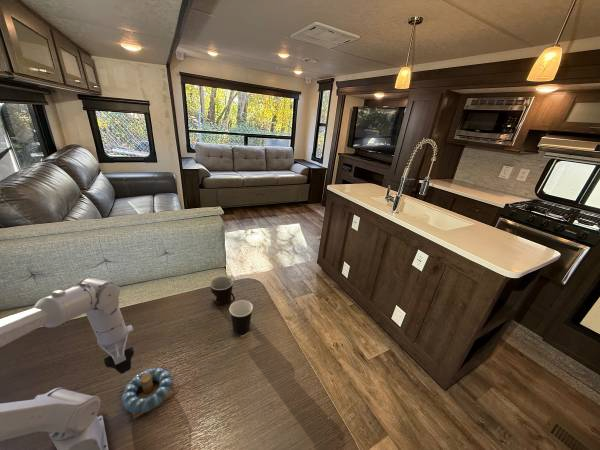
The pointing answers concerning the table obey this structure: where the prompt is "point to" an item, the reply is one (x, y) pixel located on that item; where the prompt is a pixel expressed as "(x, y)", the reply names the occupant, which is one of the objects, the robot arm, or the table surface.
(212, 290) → the coffee mug
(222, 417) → the table surface
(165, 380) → the blue beaded bracelet
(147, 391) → the hook stand
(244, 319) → the dixie cup
